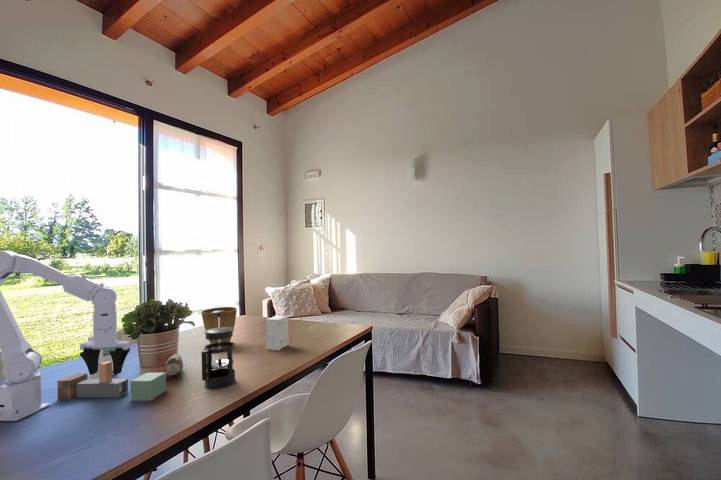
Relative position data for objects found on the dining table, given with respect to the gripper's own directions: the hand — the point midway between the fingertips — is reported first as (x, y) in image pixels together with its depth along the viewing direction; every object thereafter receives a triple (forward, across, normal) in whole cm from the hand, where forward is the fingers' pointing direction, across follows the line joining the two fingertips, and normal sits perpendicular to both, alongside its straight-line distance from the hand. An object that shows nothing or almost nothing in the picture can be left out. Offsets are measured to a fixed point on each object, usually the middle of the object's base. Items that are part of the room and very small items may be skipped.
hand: (105, 373), depth 107 cm
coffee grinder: (+7, -30, -9) cm, 32 cm away
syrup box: (+7, +14, -16) cm, 23 cm away
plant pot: (+7, -8, -55) cm, 56 cm away
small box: (+7, -36, -50) cm, 62 cm away
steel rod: (+5, +2, 0) cm, 6 cm away
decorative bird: (+7, -10, -18) cm, 22 cm away
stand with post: (+6, +1, 0) cm, 6 cm away
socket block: (+6, -14, 0) cm, 15 cm away
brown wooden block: (+6, +11, 0) cm, 12 cm away
